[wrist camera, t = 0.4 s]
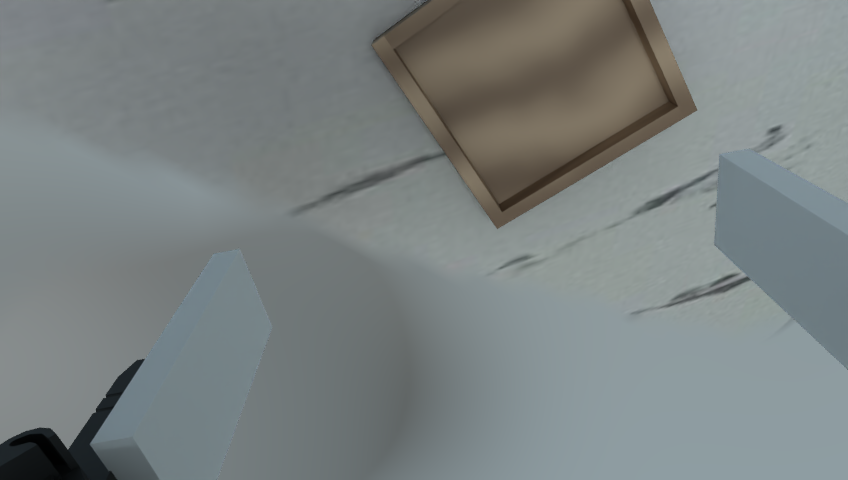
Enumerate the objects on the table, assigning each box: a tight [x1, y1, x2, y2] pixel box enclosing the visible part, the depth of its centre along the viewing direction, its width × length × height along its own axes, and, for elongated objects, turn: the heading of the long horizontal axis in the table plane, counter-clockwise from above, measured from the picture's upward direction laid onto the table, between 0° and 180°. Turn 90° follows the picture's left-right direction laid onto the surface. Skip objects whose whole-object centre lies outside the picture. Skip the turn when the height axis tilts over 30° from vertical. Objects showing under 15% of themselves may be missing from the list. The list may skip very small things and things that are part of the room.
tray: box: [372, 0, 697, 229], centre depth 37 cm, size 16×16×2 cm
